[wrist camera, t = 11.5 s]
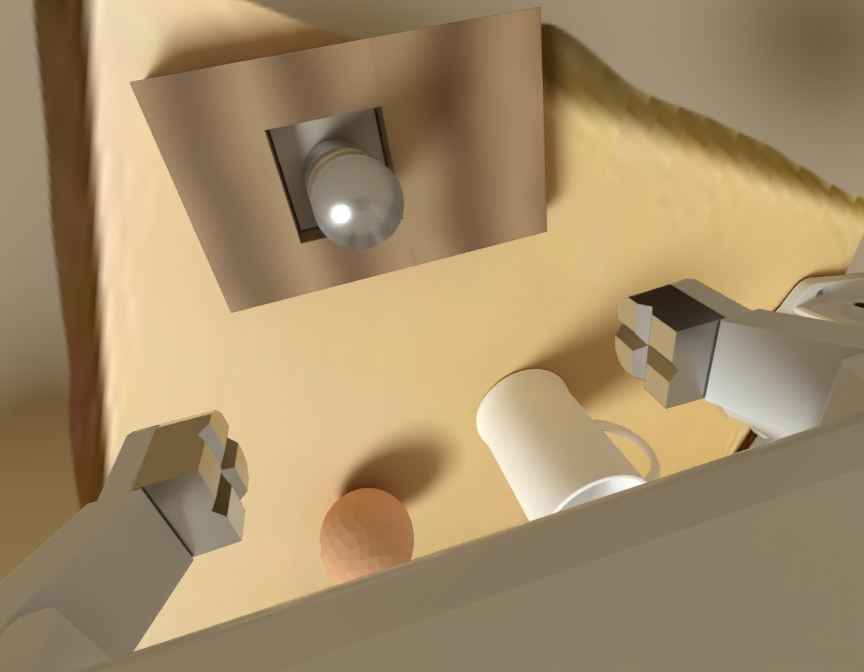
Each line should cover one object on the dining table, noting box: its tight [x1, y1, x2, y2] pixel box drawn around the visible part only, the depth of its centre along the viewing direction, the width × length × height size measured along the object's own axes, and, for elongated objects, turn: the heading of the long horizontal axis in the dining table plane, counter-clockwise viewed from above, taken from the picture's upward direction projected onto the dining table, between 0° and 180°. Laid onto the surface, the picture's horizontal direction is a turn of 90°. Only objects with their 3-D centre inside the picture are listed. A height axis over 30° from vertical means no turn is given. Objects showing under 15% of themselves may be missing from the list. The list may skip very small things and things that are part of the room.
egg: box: [320, 488, 414, 584], centre depth 38 cm, size 7×7×8 cm
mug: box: [476, 369, 660, 521], centre depth 36 cm, size 12×8×12 cm
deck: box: [130, 7, 547, 313], centre depth 27 cm, size 20×12×2 cm, turn 99°
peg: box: [303, 138, 404, 250], centre depth 24 cm, size 4×4×8 cm
